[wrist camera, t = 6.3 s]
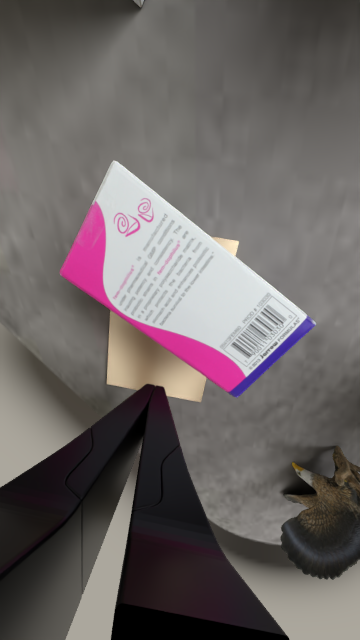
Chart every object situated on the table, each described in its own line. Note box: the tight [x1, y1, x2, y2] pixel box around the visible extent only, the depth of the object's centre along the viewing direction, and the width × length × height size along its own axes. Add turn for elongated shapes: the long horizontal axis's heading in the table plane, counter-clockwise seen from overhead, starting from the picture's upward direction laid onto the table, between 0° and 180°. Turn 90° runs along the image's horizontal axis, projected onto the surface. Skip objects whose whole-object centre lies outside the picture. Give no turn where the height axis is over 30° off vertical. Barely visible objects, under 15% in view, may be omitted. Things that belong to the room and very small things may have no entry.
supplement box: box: [60, 161, 316, 398], centre depth 11 cm, size 6×6×12 cm
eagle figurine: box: [281, 446, 360, 580], centre depth 16 cm, size 8×7×9 cm
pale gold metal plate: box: [107, 237, 239, 402], centre depth 15 cm, size 9×14×1 cm, turn 171°
